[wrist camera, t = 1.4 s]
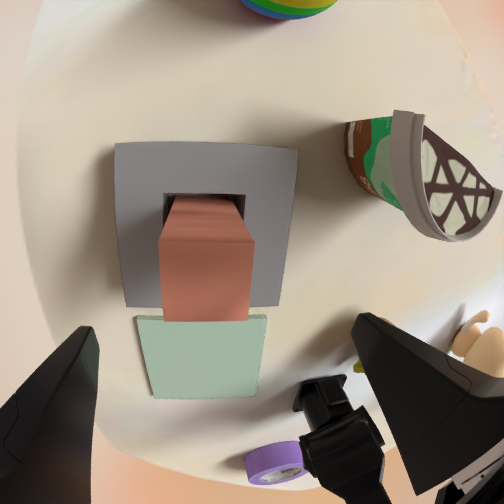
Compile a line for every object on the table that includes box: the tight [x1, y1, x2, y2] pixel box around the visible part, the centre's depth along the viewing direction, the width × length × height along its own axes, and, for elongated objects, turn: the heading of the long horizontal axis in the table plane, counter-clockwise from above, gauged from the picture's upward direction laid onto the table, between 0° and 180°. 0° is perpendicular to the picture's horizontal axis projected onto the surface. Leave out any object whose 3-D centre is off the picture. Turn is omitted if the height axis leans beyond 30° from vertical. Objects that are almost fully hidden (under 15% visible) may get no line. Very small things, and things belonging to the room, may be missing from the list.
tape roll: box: [244, 441, 309, 485], centre depth 38 cm, size 12×12×5 cm
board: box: [137, 315, 267, 399], centre depth 26 cm, size 12×12×1 cm
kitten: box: [452, 311, 504, 378], centre depth 30 cm, size 15×10×15 cm, turn 161°
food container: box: [344, 110, 503, 242], centre depth 17 cm, size 12×6×10 cm, turn 73°
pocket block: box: [114, 142, 299, 308], centre depth 19 cm, size 12×12×3 cm
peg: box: [158, 195, 255, 322], centre depth 16 cm, size 4×4×10 cm
